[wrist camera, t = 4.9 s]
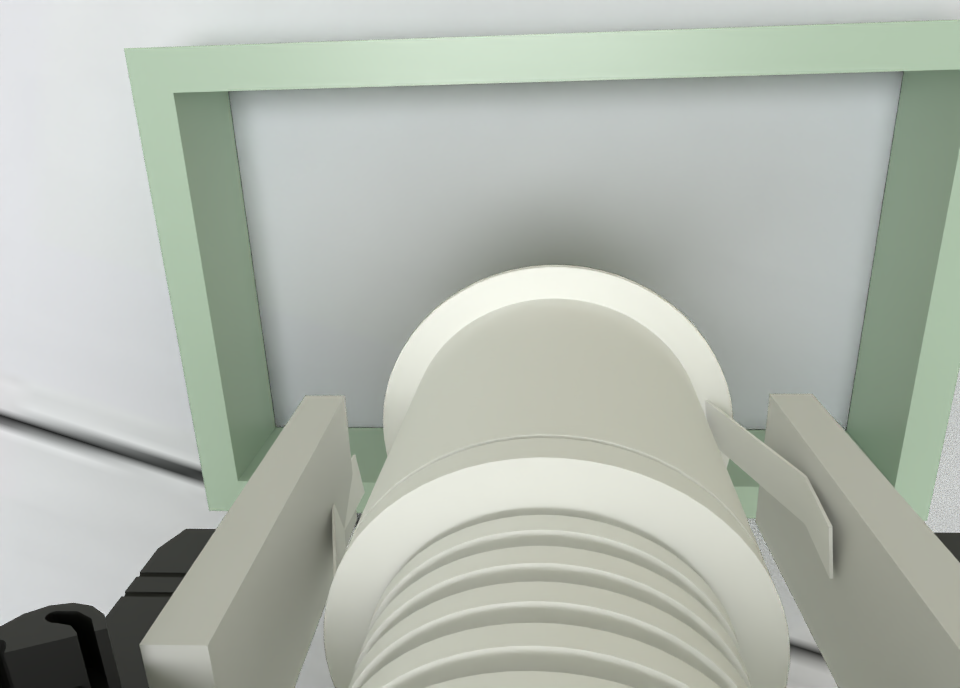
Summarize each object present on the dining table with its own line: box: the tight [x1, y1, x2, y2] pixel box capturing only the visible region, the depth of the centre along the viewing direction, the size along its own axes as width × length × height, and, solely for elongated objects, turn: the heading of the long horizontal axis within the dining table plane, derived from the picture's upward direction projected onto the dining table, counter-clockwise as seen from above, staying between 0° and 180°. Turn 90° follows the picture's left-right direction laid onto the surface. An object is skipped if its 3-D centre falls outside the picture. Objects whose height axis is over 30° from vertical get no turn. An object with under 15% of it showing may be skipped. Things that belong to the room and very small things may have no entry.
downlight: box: [324, 265, 833, 688], centre depth 11 cm, size 8×7×10 cm
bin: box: [124, 20, 960, 521], centre depth 24 cm, size 24×15×4 cm, turn 92°
